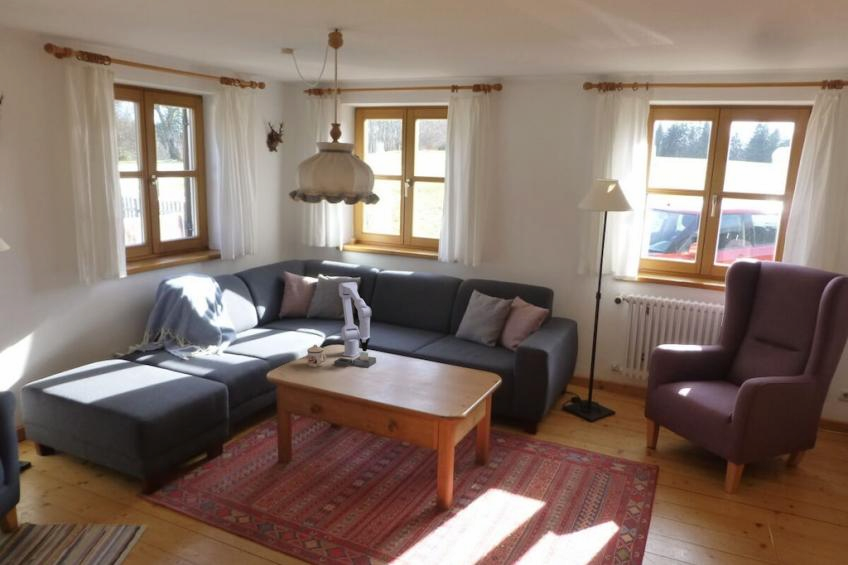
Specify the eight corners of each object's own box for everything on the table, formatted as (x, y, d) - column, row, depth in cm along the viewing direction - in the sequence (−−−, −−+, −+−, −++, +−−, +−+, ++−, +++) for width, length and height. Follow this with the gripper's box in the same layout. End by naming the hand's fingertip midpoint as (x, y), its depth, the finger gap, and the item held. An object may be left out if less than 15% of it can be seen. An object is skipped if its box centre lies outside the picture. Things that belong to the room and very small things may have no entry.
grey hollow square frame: (340, 361, 359) (340, 357, 359) (352, 363, 356) (352, 359, 356) (334, 365, 353) (334, 361, 352) (346, 367, 350) (346, 362, 349)
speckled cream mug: (304, 365, 352) (303, 345, 349) (314, 361, 359) (314, 341, 357) (320, 369, 346) (320, 349, 344) (330, 364, 354) (330, 345, 351)
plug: (360, 363, 358) (360, 351, 356) (368, 363, 358) (368, 351, 356) (360, 364, 355) (360, 353, 353) (367, 364, 355) (368, 353, 354)
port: (360, 360, 363) (360, 354, 362) (376, 362, 359) (376, 357, 358) (352, 365, 353) (352, 359, 353) (368, 367, 350) (368, 362, 349)
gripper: (358, 324, 359) (358, 347, 362) (356, 331, 345) (356, 354, 348) (370, 324, 359) (370, 347, 362) (369, 331, 345) (369, 354, 348)
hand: (364, 350), depth 355 cm, fingers closed
